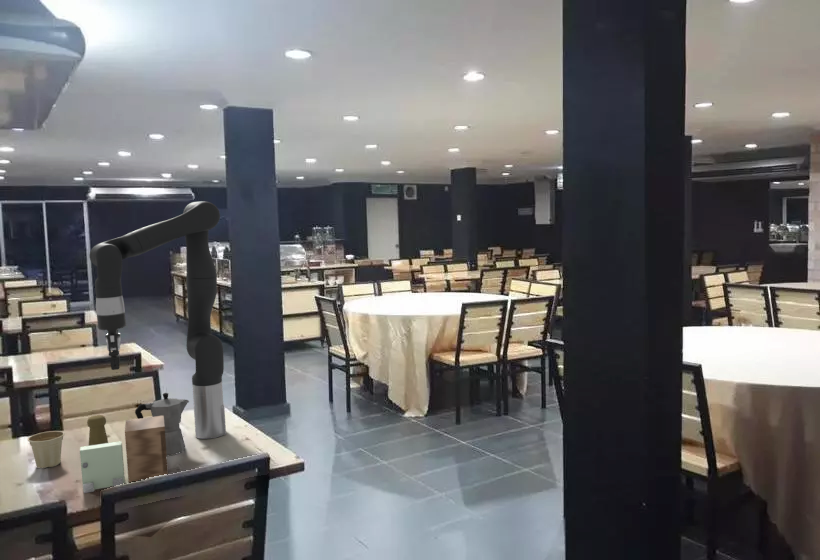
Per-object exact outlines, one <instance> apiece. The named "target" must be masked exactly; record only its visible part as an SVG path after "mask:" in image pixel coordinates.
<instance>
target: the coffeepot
mask: <svg viewBox="0 0 820 560" xmlns="http://www.w3.org/2000/svg"><path fill="white" fill-rule="evenodd" d="M162 396H163V397H162V399H159V400H155V401H152V402H147V403H141V404H138V407H137V408H136V409H135V411H134V413H135V416H136V417H137V418H136V419H140V418H144V415H143V413H142V411H150V412H151V417H156V416H163V415H164V425H165V439H166V453H167V455H169V456H173V455H174V454H175V455H177V454H176V453H178V454H180V453H182V452H184V451H185V449H186V443H185V440H184V436H183V432H182V428H181V427H180V423H181V422H182V414H183V411H184V410H185V408H186V407H187V405H188V403H190V401H189V400H188V399H185V398H181V399H180V398H173V397H172V398H169V393H168V392H164V393H163V394H162ZM179 452H180V453H179ZM175 455H174V456H175Z"/></svg>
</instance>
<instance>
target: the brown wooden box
mask: <svg viewBox="0 0 820 560" xmlns="http://www.w3.org/2000/svg"><path fill="white" fill-rule="evenodd" d="M124 439H125V451H126V454H125V455H126V466H127V478H128V483H133V482H132V481H135V482H139V481H138V480H141V479H146V478H149V477H154V476H159V475H164V474H168V475H169V470H168V469H169V468H168V456H167V453H166V439H165V425H164V415H163V416H156V417H152V416H150V417H143V418H140V419H138V418H133V419H126V420H125V425H124ZM141 481H142V480H141Z"/></svg>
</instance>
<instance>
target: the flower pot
mask: <svg viewBox="0 0 820 560" xmlns="http://www.w3.org/2000/svg"><path fill="white" fill-rule="evenodd" d="M64 436H65V432H64V431H61V430H51V431H44V432H39V433H36V434H32V435H31V436H28V437H27V441H28V442H29V445H30V446H31V449H32V453H33V454H32V455H33V457H34V461H35V466H36V468H37V469H47V468H53V467H56V466H58V465H59V464H61V460H62V446H63V444H62V443H63V440H64Z"/></svg>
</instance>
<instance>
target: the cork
mask: <svg viewBox="0 0 820 560" xmlns="http://www.w3.org/2000/svg"><path fill="white" fill-rule="evenodd" d="M106 418H107V417H106V416H104V415H103V414H96V415H91V416H89V417H88V419H87V422H86V423H87V427H88V428H89V433H88V434H89V436H88V446H91V445H98V444H105V443H109V440H108V436H107V430H106V428H105V425H106V422H107V419H106Z"/></svg>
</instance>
